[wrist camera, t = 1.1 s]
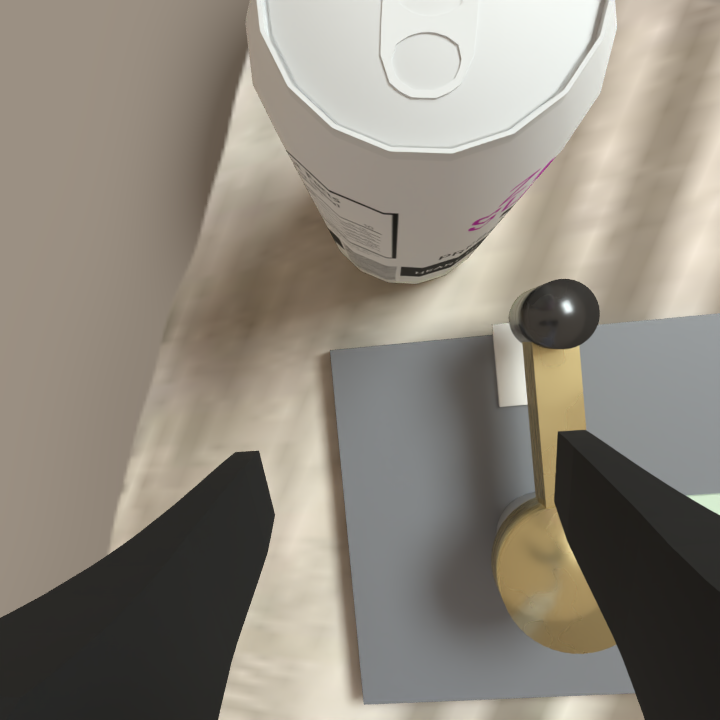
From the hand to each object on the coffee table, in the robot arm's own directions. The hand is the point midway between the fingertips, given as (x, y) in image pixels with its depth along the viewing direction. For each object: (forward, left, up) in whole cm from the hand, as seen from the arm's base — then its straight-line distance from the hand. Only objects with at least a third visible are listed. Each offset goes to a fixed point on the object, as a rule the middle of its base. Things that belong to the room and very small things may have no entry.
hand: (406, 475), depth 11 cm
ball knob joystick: (-2, -6, -9) cm, 12 cm away
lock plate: (-5, -7, -13) cm, 16 cm away
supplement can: (+10, -1, -13) cm, 17 cm away
